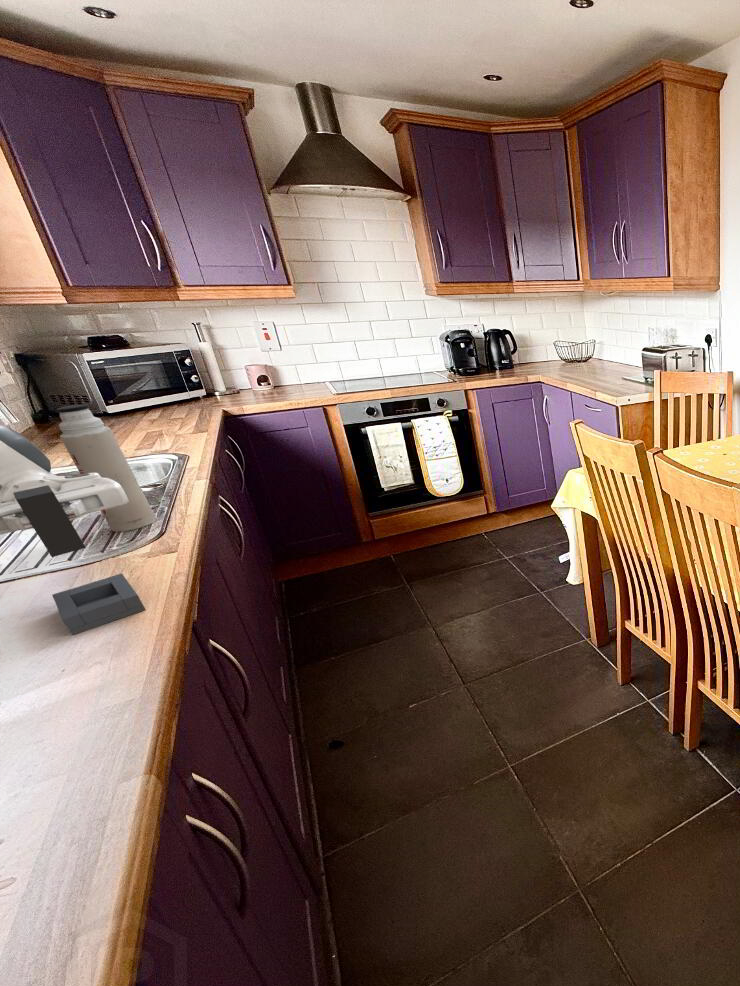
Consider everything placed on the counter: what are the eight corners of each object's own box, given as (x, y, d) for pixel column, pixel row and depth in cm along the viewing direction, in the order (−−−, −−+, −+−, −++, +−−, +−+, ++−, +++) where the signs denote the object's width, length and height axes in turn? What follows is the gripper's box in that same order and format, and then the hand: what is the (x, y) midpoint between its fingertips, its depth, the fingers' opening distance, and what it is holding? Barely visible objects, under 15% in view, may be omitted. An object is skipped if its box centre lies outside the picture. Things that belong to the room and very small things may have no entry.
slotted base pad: (61, 609, 101) (51, 594, 100) (129, 587, 107) (121, 573, 106) (72, 635, 93) (62, 619, 92) (146, 609, 99) (137, 594, 98)
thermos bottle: (110, 534, 132) (41, 412, 120) (113, 525, 137) (48, 406, 125) (156, 524, 136) (94, 405, 124) (157, 515, 142) (98, 400, 130)
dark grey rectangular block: (47, 548, 97) (12, 492, 93) (80, 539, 100) (48, 485, 95) (51, 557, 94) (16, 499, 89) (86, 547, 96) (52, 491, 92)
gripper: (-64, 505, 93) (-63, 523, 85) (108, 469, 107) (122, 482, 99) (-40, 540, 96) (-37, 561, 88) (125, 501, 110) (140, 515, 102)
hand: (49, 519), depth 94 cm, fingers closed on dark grey rectangular block, 4 cm apart
